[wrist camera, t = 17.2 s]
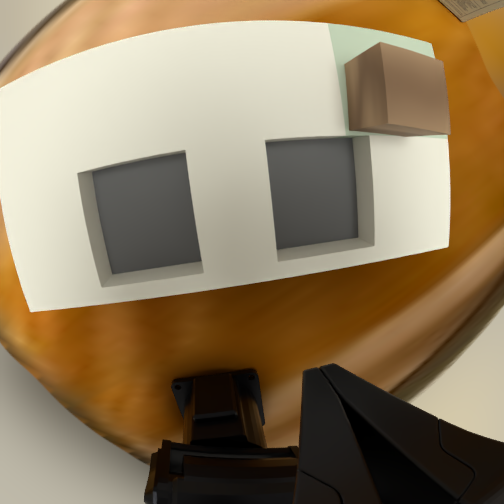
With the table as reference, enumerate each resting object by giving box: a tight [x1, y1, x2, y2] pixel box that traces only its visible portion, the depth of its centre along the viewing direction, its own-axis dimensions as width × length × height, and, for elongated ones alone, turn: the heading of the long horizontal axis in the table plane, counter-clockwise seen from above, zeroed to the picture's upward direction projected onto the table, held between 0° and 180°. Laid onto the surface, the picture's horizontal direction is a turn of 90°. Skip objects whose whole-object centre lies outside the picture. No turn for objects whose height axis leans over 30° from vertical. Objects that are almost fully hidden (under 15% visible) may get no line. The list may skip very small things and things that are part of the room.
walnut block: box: [344, 42, 451, 137], centre depth 13 cm, size 4×4×4 cm
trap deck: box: [0, 21, 450, 312], centre depth 16 cm, size 14×28×2 cm, turn 97°
